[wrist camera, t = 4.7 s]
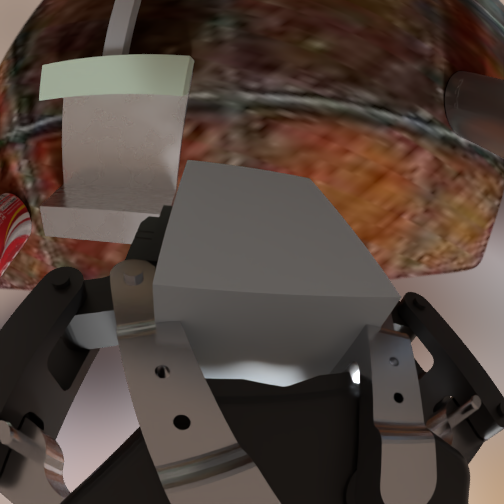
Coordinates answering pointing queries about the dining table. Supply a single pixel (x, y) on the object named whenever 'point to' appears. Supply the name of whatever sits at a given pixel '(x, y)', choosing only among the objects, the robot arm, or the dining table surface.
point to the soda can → (12, 228)
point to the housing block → (265, 275)
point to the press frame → (115, 164)
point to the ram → (118, 66)
